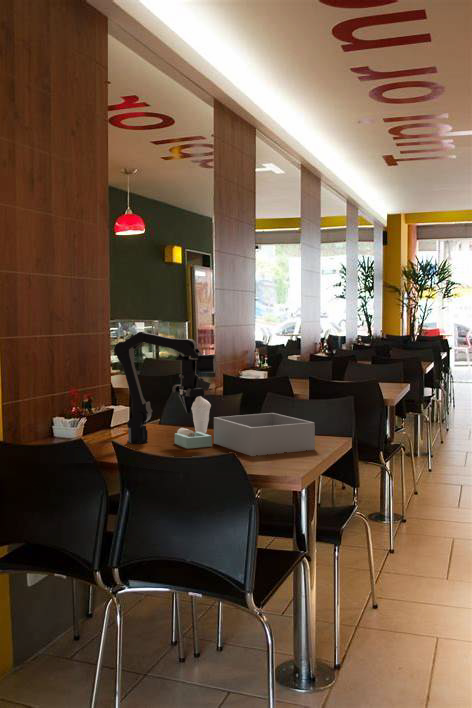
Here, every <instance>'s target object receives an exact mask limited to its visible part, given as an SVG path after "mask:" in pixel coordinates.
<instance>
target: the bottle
mask: <svg viewBox="0 0 472 708" xmlns="http://www.w3.org/2000/svg"><path fill="white" fill-rule="evenodd" d="M194 432H195V431H193V430H191V429H188V428H184V427H180V428H179V429H177V431H176V433H180V434H183V435H185V436H188V437H195V434H194Z"/></svg>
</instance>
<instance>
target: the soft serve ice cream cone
mask: <svg viewBox="0 0 472 708" xmlns="http://www.w3.org/2000/svg"><path fill="white" fill-rule="evenodd" d="M211 407H212V404H211V403H210V402H209V401H208V400H207V399H205V398H204V397H203V396H198V397H197V398H195V399H194V401H193V404H192V408H191V413H192V419H193V420H192V421H193V425H194V429H195V431H194V432H198V431H199V432H202V433H205V434H207V430H208V425H209V421H210V409H211Z"/></svg>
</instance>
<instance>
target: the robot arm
mask: <svg viewBox="0 0 472 708" xmlns="http://www.w3.org/2000/svg"><path fill="white" fill-rule="evenodd" d="M144 343H146V344H150V345H155V346H160V347H164V348H169V349H172V350H174V351H176V352H178V353H179V355H178V356H177V357H175V360H176V361H180V374H178V378H180V384H174V385H173V386H172V388H171V389H172V391H171V392H172V393H179V394H177V396H178V397H179V400H180V401H181V403H182V405H183V408H184V411H185V413H186V414H190V413H191V412H192V410H191V408H192V404H193V402H195V400H196V398H197V397H198V396H201V397H206V391H207V392H209V390H210V387H211V383H210V382H208V381H205V380H204V378H202V377H200V376H199V375H198V374H197V371H199V373H212V374H213V373H214V374H216V369H217V362H216V356H215V354H202V353H201V351H200V350H199V348H198V344H197V342H196V341H195V340H194V339H192V338H173V337H168V336H162V335H159V334H154V333H149V332H146V331H137V332H136V334H134V335H132V336H131V337H129V338H127V339H126V340H124V341H119V342H117V343H116V344H115V345H114V347H113V348H114V350H113V351H114V353H115V355H116V358H117V360H118V361H119V363H120V364H121V366H122V368H123V371H124V376H125V379H126V383H127V386H128V390H129V394H130V398H131V401H132V402H131V413H132V417H130V419H129V420H128V421H126V425H127V429H128V430H127V434H128V440H126V442H127V443H129V444H132V445H136V444H137V445H138V444H146V443H149V441H148V440H149V439H148V437H149V436H148V435H149V434H148V433H149V432H148V429H147V426H146V425H147V423H148V422H149V420H151V417H152V413H153V409H152V407H151V402H150V401H146V399H145V398H144V396H143V391H142V388H141V384H140V380H139V378H138V373H137V370H136V366H135V349H137V348H138V347H140V346H141V345H142V344H144Z"/></svg>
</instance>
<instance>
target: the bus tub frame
mask: <svg viewBox="0 0 472 708" xmlns="http://www.w3.org/2000/svg"><path fill="white" fill-rule="evenodd" d="M315 428H316V425H315V422H314V421H309V420H305V419H301V418H297V417H292V416H287V415H283V414H281V413H280V414H279V413H275V412H269V413H253V414H243V415H242V414H241V415H240V414H239V415H231V416H230V415H228V416H217V417H215V416H214V417H213V444H215V445H217V446H221V447H224V448H226V449H229V450H233V451H235V452H238V453H242V454H244V455H247V456H250V457H255V456H256V455H258V456H266V455H267V454H268V455H276V453H277V454H285V453H284V452H287V453H295V452H303V451H306V450H307V451H315V449H316V448H315V447H316V446H315V444H316V442H315V441H316V439H315V437H316V435H315V433H316V432H315ZM307 451H306V452H307Z"/></svg>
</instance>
